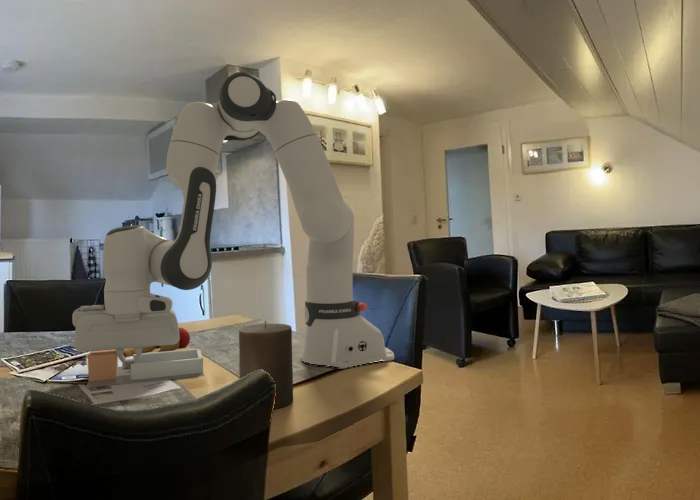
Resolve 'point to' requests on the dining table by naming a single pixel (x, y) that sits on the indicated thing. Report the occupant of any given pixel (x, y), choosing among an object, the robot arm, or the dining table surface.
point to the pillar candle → (269, 356)
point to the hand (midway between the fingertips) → (129, 368)
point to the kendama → (181, 344)
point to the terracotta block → (102, 365)
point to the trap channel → (158, 368)
